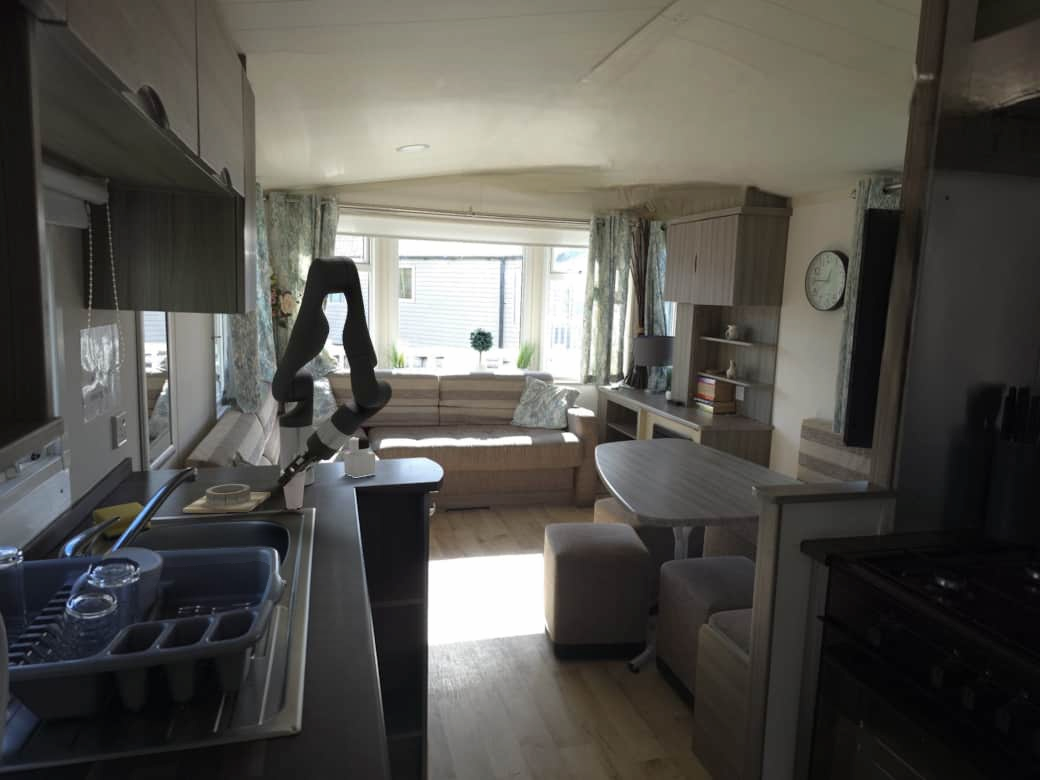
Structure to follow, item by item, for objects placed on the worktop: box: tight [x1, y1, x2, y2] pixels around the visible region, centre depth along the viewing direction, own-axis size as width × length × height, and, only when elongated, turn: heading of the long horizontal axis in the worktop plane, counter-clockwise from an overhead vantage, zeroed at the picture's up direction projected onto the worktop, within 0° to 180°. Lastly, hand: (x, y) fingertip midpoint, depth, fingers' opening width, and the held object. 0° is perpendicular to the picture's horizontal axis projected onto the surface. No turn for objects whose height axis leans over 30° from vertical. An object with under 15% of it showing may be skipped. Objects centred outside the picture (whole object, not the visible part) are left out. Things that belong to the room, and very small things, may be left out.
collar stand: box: [182, 483, 272, 514], centre depth 174 cm, size 16×16×4 cm
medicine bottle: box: [343, 435, 376, 477], centre depth 206 cm, size 7×7×12 cm
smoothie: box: [279, 454, 306, 510], centre depth 171 cm, size 6×6×14 cm
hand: (288, 480), depth 171 cm, fingers open, 8 cm apart
